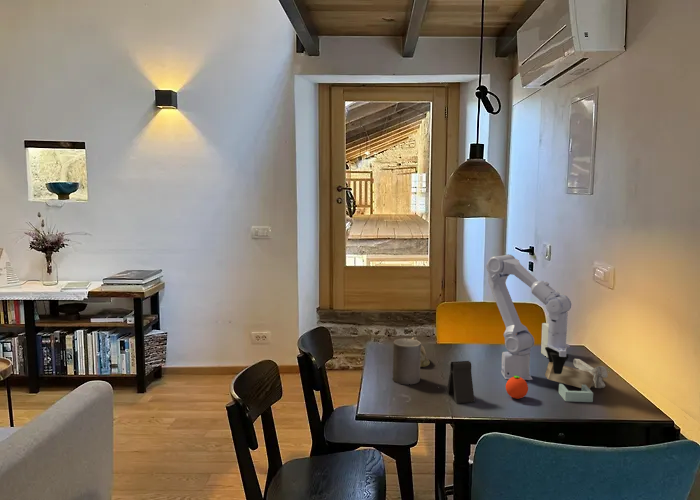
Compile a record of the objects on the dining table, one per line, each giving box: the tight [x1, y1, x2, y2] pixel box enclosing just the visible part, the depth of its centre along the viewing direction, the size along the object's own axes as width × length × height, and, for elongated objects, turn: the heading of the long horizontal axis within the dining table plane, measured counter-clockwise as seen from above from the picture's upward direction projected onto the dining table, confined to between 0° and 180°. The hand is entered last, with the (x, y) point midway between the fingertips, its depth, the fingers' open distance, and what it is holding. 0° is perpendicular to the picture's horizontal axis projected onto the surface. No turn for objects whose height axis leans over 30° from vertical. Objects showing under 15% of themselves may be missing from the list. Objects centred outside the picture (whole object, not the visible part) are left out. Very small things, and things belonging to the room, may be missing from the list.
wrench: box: [573, 358, 609, 389], centre depth 191 cm, size 8×2×30 cm
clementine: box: [505, 376, 529, 400], centre depth 174 cm, size 8×7×7 cm
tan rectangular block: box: [544, 361, 594, 390], centre depth 182 cm, size 14×4×5 cm, turn 86°
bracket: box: [558, 383, 594, 403], centre depth 174 cm, size 8×7×3 cm
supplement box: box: [540, 322, 549, 359], centre depth 217 cm, size 7×7×13 cm
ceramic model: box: [411, 336, 431, 368], centre depth 209 cm, size 14×11×10 cm
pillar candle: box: [392, 337, 422, 386], centre depth 189 cm, size 10×10×15 cm
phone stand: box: [446, 360, 476, 405], centre depth 173 cm, size 9×6×12 cm, turn 10°
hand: (555, 371), depth 182 cm, fingers closed on tan rectangular block, 4 cm apart
